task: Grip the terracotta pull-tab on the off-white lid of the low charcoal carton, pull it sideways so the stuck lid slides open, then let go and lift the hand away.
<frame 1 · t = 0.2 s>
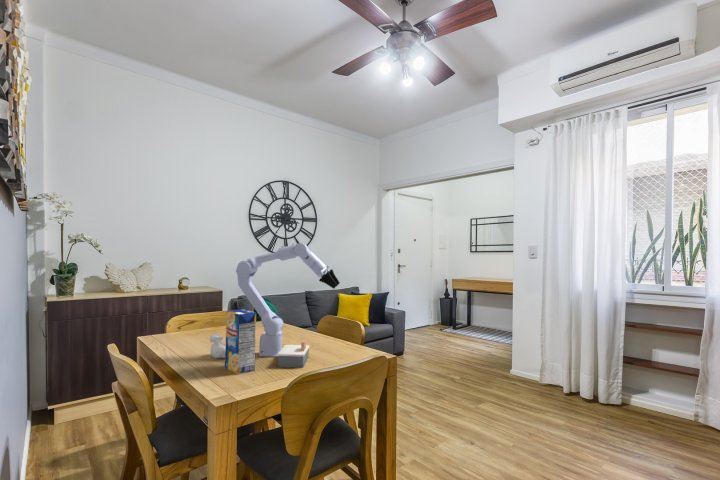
hand: (336, 285, 159), 31 cm above the table, tool tilted 45°, fingers open, 7 cm apart
carton lid: (294, 346, 149), point 6 cm above the table, slide at 0.0 cm
carton: (293, 361, 149), on the table
bust: (218, 358, 153), on the table
beverage box: (239, 369, 139), on the table
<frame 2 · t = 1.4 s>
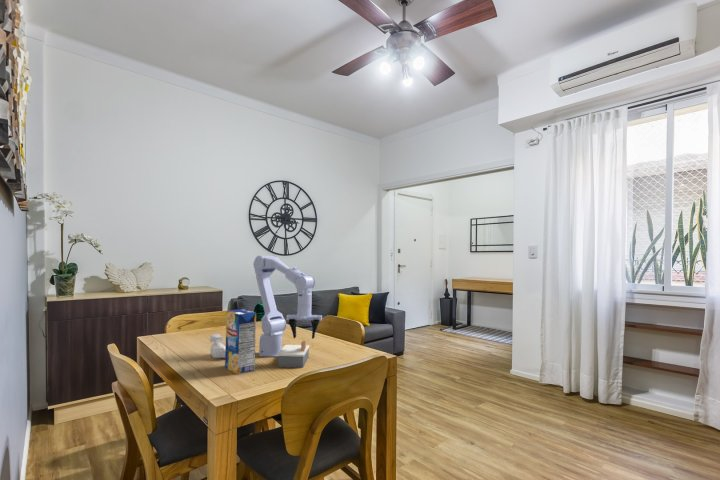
hand: (304, 337, 149), 10 cm above the table, tool pointing down, fingers open, 7 cm apart
nothing on the table moved.
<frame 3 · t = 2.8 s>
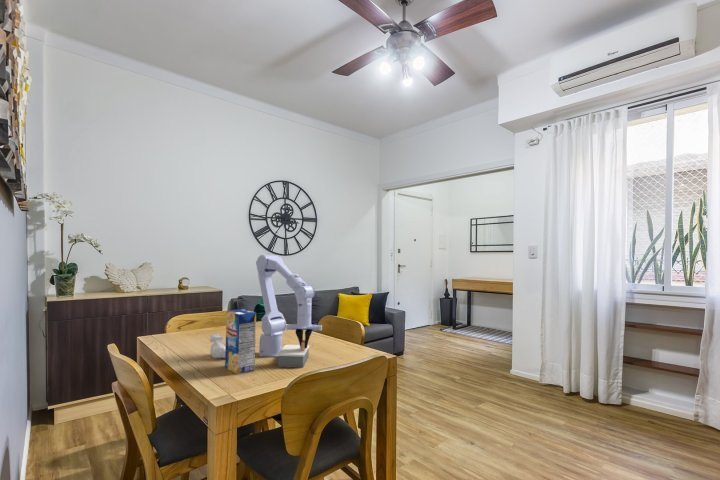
hand: (303, 347, 149), 6 cm above the table, tool pointing down, fingers closed on carton lid
carton lid: (294, 346, 149), point 6 cm above the table, slide at 0.0 cm, touching gripper
everything else where it was.
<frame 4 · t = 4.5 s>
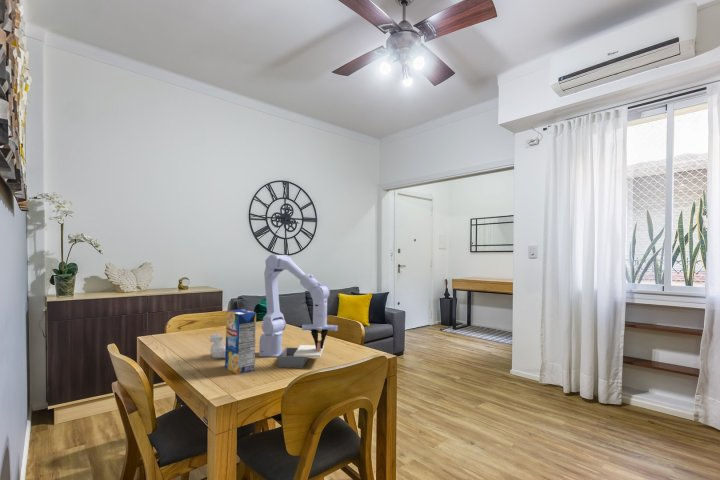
hand: (319, 347, 149), 6 cm above the table, tool pointing down, fingers closed
carton lid: (309, 346, 149), point 6 cm above the table, slide at 6.5 cm
everything else where it was.
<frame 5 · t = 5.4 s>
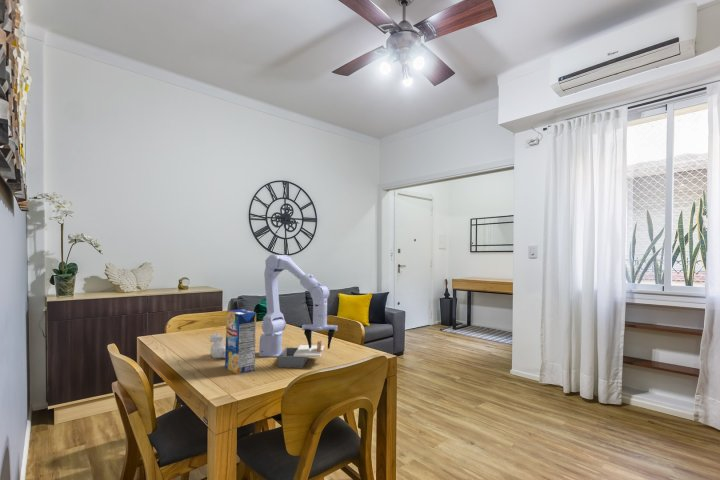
hand: (319, 347, 149), 6 cm above the table, tool pointing down, fingers open, 7 cm apart
nothing on the table moved.
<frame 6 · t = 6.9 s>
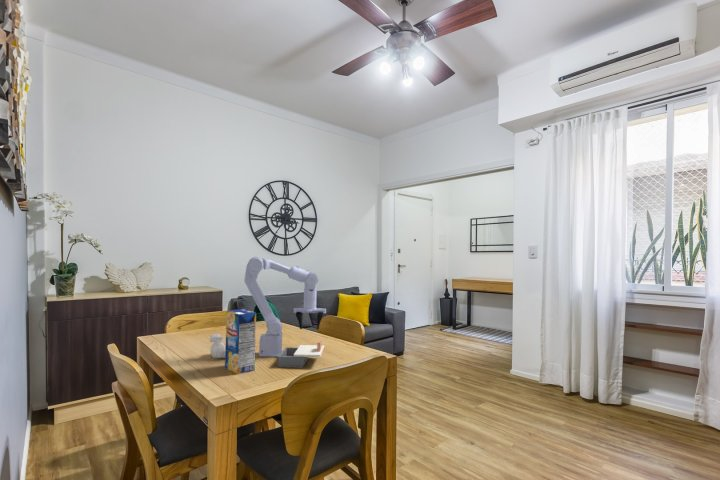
hand: (309, 328, 164), 10 cm above the table, tool pointing down, fingers open, 7 cm apart
nothing on the table moved.
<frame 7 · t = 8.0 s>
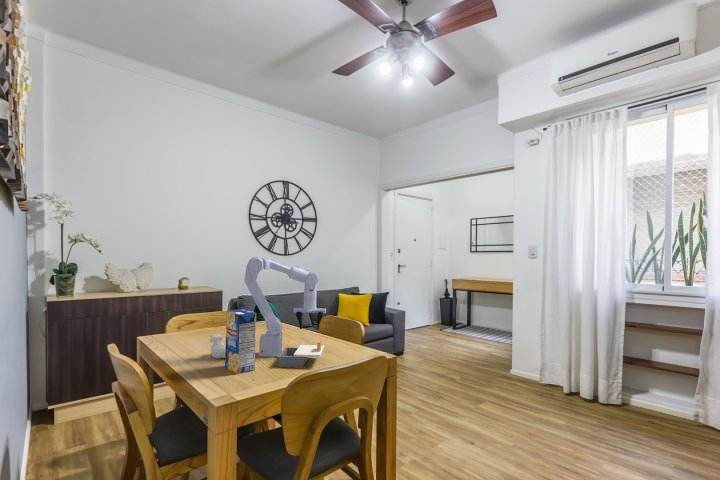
hand: (309, 328, 164), 10 cm above the table, tool pointing down, fingers open, 7 cm apart
nothing on the table moved.
at the end: carton lid slide at 6.5 cm; the gripper is holding nothing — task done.
